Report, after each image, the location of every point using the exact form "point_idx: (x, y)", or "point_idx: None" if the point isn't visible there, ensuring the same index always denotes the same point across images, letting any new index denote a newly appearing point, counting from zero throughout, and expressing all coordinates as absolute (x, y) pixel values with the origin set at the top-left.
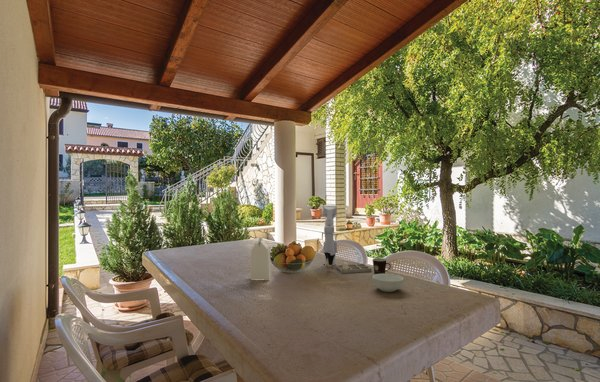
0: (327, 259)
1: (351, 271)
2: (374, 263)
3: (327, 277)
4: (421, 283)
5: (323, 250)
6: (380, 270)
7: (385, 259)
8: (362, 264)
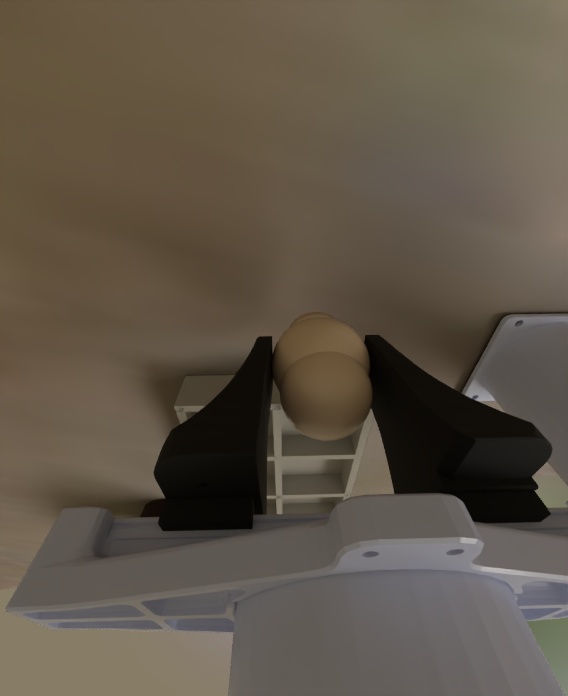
0: (313, 374)
1: None
2: None
3: (49, 219)
4: None
5: (463, 540)
6: None
7: (151, 630)
8: None
